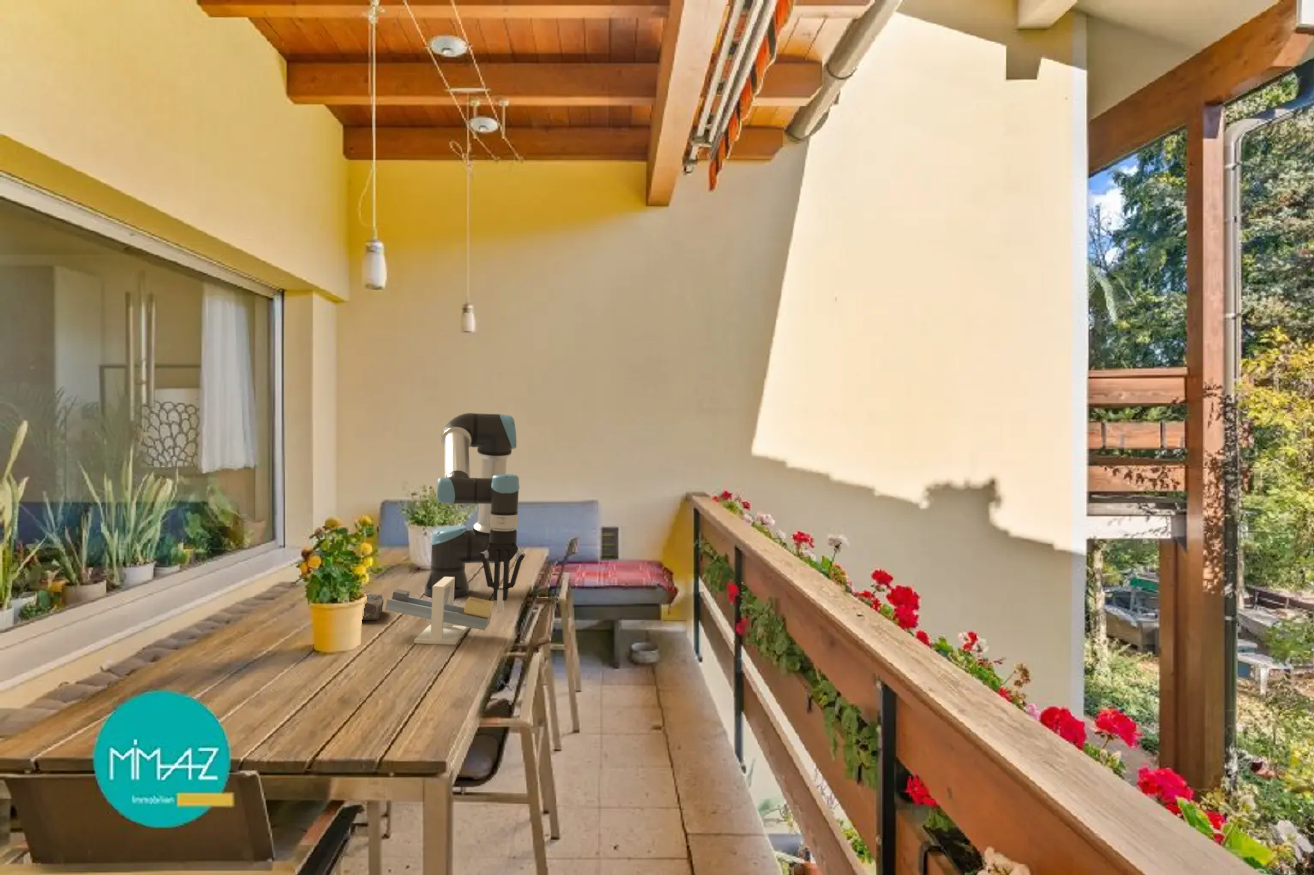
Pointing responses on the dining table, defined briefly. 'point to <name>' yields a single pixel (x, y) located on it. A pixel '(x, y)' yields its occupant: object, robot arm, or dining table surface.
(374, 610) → the rock
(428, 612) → the beam
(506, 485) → the robot arm
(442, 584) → the stand
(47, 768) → the dining table surface
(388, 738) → the dining table surface
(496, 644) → the dining table surface
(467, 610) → the block
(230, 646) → the dining table surface
